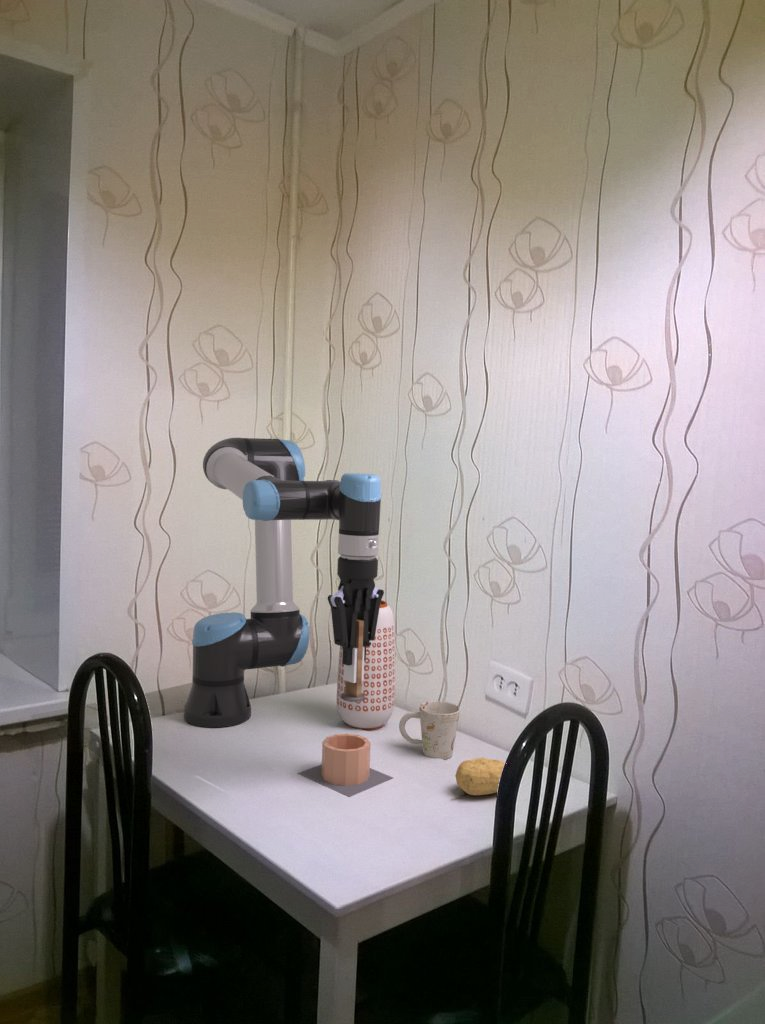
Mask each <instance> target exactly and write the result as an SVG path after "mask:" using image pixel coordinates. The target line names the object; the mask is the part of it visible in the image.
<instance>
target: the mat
mask: <svg viewBox="0 0 765 1024" xmlns="http://www.w3.org/2000/svg"><path fill="white" fill-rule="evenodd" d="M297 775H300V776H302V777H304V778H307V779H309V780H311V781H312V782H315V783H318V784H319V785H322V786H324V787H326V788H328V789H331V790H333V791H335V792H337V793H339V794H341V795H343V796H346V797H348V798H351V797H353V796H355V795H357V794H360V793H362V792H365V791H367V790H369V789H372V788H374V787H376V786H379V785H381V784H383V783H385V782H389V781H391V780H392V779H394V777H393V776H390V775H388V774H386V773H383V772H380V771H378V770H376V769H373V768H371V767H370V775H369V777H368V779H367V781H365V782H363V783H360V784H358V785H348V786H343V785H336V784H332V783H329V782H327V781H325V780H324V779H323V777H322V763H321V764H319V765H315V766H313V767H310V768H308V769H305V770H302V771H300V772H298V773H297Z"/></svg>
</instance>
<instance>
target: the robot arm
mask: <svg viewBox="0 0 765 1024" xmlns="http://www.w3.org/2000/svg"><path fill="white" fill-rule="evenodd" d="M202 470H203V473H204V475H205V478H206V479H207V481H209V482H210V483H211V484H212V485H213V486H215V487H216V488H219V489H221V490H228V491H229V492H231V493H232V494H234V495H235V496H236V497H238V498H239V499H240V500H242V509H243V511H244V514H245V516H246V517H247V518H248V519H249V520H252V521H254V536H255V537H254V538H255V542H254V543H255V548H254V549H255V581H256V582H255V584H256V588H255V589H256V603H255V605H254V606H253V607H252V608H251V609H250V618H246V616H245V614H243V613H241V612H221V613H216V614H215V613H214V614H210V615H207V616H204V617H203V618H201V619H199V620H198V621H197V622H195V624H194V626H193V636H192V640H191V641H192V642H191V644H192V678H191V679H192V685H191V688H190V690H189V693H188V696H187V700H186V703H185V705H184V708H183V719H184V721H185V722H186V723H188V724H190V725H193V726H197V727H203V728H223V727H225V728H226V727H230V726H231V727H232V726H236V725H239V724H242V723H245V722H247V721H248V720H249V719H250V718H251V717H252V704H251V702H250V698H249V696H248V692H247V689H246V684H245V671H247V670H255V669H264V668H272V667H274V668H275V667H286V666H290V665H295V664H299V663H300V662H301V661H302V660H303V659H304V657H305V655H306V654H307V651H308V647H309V644H310V627H309V622H308V619H307V617H306V616H305V615H302V614H301V613H300V612H301V610H300V607H299V606H298V605H297V604H296V603H295V602H294V594H293V593H294V592H293V589H294V587H293V586H294V585H293V558H292V557H293V550H292V549H293V548H292V520H293V521H294V520H297V521H298V520H300V521H301V520H303V521H304V520H306V521H309V520H310V521H314V520H316V521H317V520H322V521H324V520H326V521H327V520H330V521H331V520H335V521H339V522H338V541H337V542H338V544H337V545H338V546H337V554H339V555H340V556H339V557H338V558H337V569H336V570H337V573H336V574H337V576H338V577H339V580H340V581H339V584H338V587H337V592H336V593H335V594H333V595H332V594H329V595H328V596H327V601H328V603H329V607H330V611H331V612H330V613H331V623H332V632H333V641H334V645H336V646H339V647H340V646H342V648H343V657H342V658H343V659H342V662H343V664H344V677H343V680H346V681H349V682H352V683H356V680H357V653H358V648H355V647H354V646H355V636H356V623H357V619H358V620H363V621H364V631H363V657H362V681H363V676H364V661H365V659H366V646H370V645H371V642H369V641H370V640H371V641H373V640H374V638H375V633H376V627H377V620H378V614H379V608H380V602H381V600H382V599H383V597H384V594H385V590H383V589H380V588H377V587H376V583H375V579H376V578H377V577H378V571H379V570H378V569H379V566H378V565H379V560H378V558H377V556H378V555H379V537H380V535H379V534H380V522H381V521H380V519H381V501H382V492H381V484H382V483H381V479H380V476H379V475H377V474H374V473H371V474H370V473H360V472H359V473H358V472H357V473H355V472H354V473H351V472H347V473H344V474H342V476H341V477H340V480H337V479H333V480H331V479H325V480H305V477H306V464H305V458H304V456H303V453H302V450H301V448H300V447H299V446H298V444H297V443H296V442H294V441H292V440H287V439H280V438H257V437H256V438H255V437H254V438H253V437H249V438H248V437H229V438H225V439H223V440H220V441H218V442H216V443H214V444H213V445H211V447H210V448H209V449H208V450H207V452H206V453H205V455H204V457H203V460H202ZM368 632H370V633H368Z"/></svg>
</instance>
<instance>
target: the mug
mask: <svg viewBox="0 0 765 1024" xmlns="http://www.w3.org/2000/svg"><path fill="white" fill-rule="evenodd" d="M418 708H419V709H418V710H419V711H408V712H406V713H405V714H403V716H402V717H401V719H400V721H399V724H398V728H399V732H400V735H401V737H402V738H404V739H405V740H406V741H407V742H409V743H411V744H414V745H416V744H417V745H422V753H423V755H424V756H427V757H428V758H431V759H439V760H440V759H442V760H448V759H451V758H453V757H452V756H453V753H454V748H455V743H456V742H455V741H456V736H457V730H458V724H459V719H460V713H461V709H460V706H458V705H457V704H456V703H453V702H448V701H444V700H430V701H425V702H423V703H421V704H420V705H419V707H418ZM413 718H414V719H419V720H420V732H421V733H420V734H421V739H417V738H416V739H415V738H411V737H410V736H409V734H408V732H407V730H406V724H407V722H408V721H409V720H410V719H413Z"/></svg>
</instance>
